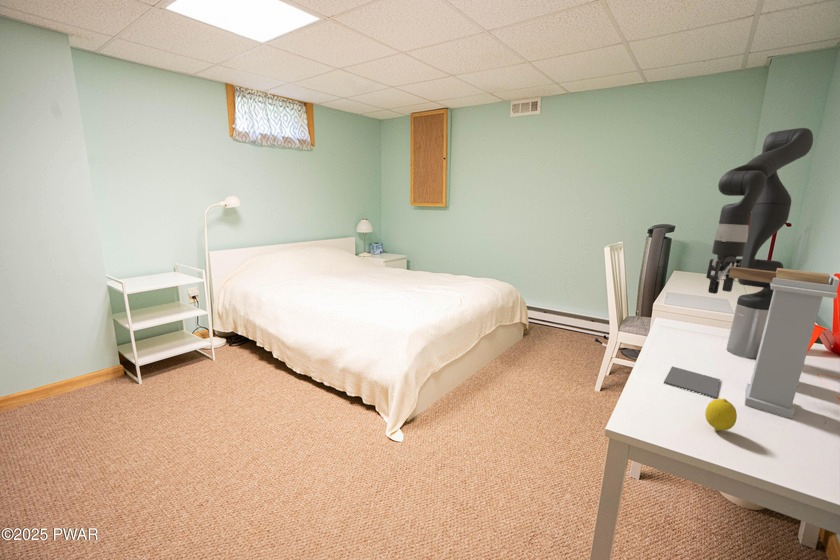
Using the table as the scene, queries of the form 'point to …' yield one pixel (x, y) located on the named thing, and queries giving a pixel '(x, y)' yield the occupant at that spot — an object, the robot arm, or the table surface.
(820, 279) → the bar
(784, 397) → the stand
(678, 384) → the mat
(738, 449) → the table surface
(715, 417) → the lemon
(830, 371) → the table surface
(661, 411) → the table surface
